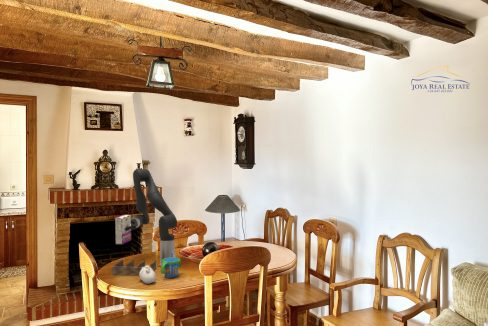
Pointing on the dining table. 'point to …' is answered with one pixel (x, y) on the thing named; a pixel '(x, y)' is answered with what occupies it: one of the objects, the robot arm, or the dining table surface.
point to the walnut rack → (130, 268)
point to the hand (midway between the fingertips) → (121, 229)
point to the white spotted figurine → (147, 274)
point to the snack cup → (170, 267)
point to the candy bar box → (122, 229)
